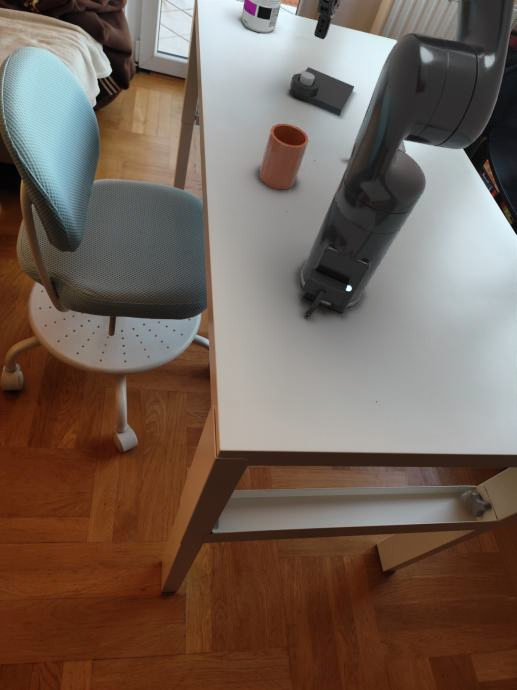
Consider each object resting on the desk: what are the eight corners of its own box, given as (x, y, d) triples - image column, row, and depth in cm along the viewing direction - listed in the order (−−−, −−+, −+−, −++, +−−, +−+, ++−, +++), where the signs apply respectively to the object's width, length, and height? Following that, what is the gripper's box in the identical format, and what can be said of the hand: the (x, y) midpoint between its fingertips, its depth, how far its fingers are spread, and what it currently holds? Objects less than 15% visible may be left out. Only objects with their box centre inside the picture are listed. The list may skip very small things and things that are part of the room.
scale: (338, 118, 99) (343, 104, 97) (285, 95, 99) (289, 81, 97) (352, 92, 107) (357, 78, 104) (302, 71, 107) (306, 57, 105)
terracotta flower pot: (288, 194, 81) (302, 152, 74) (254, 179, 81) (265, 136, 75) (298, 175, 85) (312, 133, 78) (266, 161, 85) (277, 118, 78)
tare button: (310, 88, 98) (312, 80, 97) (297, 82, 98) (299, 75, 97) (313, 82, 100) (316, 75, 99) (301, 77, 100) (303, 69, 99)
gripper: (342, -95, 82) (310, 18, 96) (322, -80, 74) (291, 40, 88) (383, -78, 82) (345, 32, 96) (367, -62, 74) (329, 56, 88)
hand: (319, 36), depth 92 cm, fingers closed
